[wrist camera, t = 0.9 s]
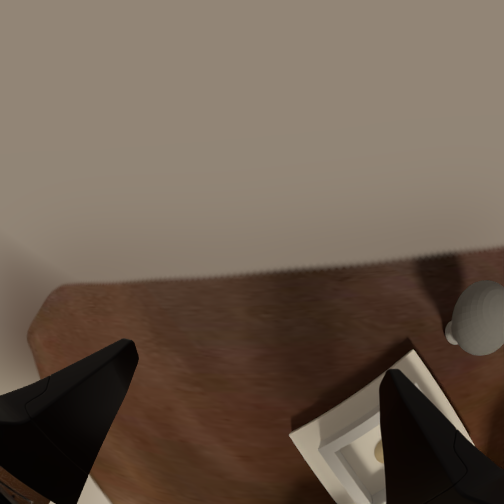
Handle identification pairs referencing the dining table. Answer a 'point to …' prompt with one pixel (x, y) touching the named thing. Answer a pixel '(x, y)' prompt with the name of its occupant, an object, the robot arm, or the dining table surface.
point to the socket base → (361, 437)
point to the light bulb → (478, 319)
